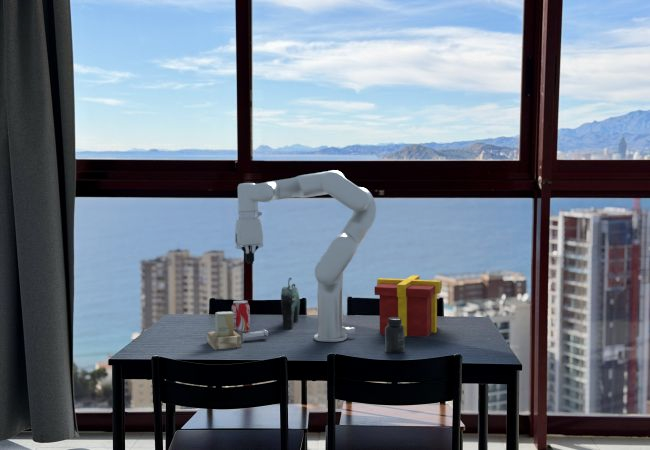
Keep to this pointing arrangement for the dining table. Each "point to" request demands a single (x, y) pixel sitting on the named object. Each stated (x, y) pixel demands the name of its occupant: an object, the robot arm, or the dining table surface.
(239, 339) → the socket
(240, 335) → the bracket
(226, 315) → the skincare box
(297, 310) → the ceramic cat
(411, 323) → the gift box
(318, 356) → the dining table surface
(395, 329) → the supplement bottle
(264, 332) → the latch bar
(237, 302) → the soda can
